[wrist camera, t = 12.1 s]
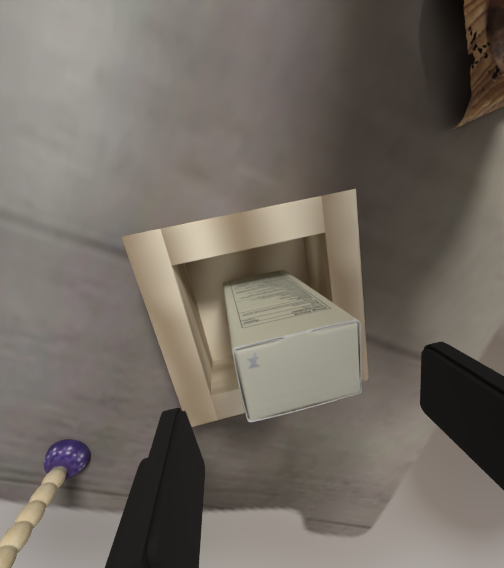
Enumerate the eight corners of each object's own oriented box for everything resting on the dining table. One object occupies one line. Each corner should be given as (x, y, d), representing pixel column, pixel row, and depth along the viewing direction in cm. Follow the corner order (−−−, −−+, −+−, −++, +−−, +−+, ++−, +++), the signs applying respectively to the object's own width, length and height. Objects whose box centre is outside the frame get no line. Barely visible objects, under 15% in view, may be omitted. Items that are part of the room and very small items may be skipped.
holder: (320, 197, 22) (355, 188, 16) (336, 345, 26) (368, 380, 21) (148, 232, 21) (121, 236, 15) (195, 380, 25) (188, 427, 20)
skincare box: (230, 322, 23) (240, 428, 11) (221, 280, 22) (223, 350, 10) (293, 309, 24) (366, 398, 12) (288, 267, 22) (363, 320, 11)
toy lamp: (50, 432, 25) (-260, 819, 9) (98, 437, 26) (-105, 796, 10) (46, 467, 26) (-237, 869, 10) (92, 471, 27) (-100, 845, 11)
